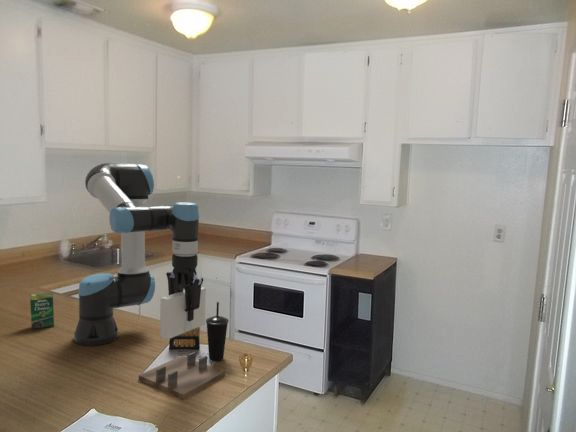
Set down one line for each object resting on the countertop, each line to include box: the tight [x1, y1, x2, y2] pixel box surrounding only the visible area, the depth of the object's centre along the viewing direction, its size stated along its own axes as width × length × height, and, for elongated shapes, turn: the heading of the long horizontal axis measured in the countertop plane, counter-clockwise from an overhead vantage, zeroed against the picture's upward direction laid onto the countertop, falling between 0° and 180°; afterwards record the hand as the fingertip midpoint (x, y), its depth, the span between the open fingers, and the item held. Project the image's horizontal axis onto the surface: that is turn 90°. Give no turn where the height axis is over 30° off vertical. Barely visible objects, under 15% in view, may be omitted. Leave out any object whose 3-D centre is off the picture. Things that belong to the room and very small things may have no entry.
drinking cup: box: [205, 301, 229, 362], centre depth 156 cm, size 8×8×20 cm
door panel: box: [159, 286, 207, 341], centre depth 140 cm, size 3×16×12 cm, turn 148°
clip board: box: [138, 351, 226, 400], centre depth 142 cm, size 19×18×5 cm
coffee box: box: [29, 292, 55, 330], centre depth 177 cm, size 8×3×13 cm, turn 116°
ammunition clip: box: [168, 327, 201, 351], centre depth 163 cm, size 11×2×12 cm, turn 97°
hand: (183, 328), depth 140 cm, fingers closed on door panel, 3 cm apart
